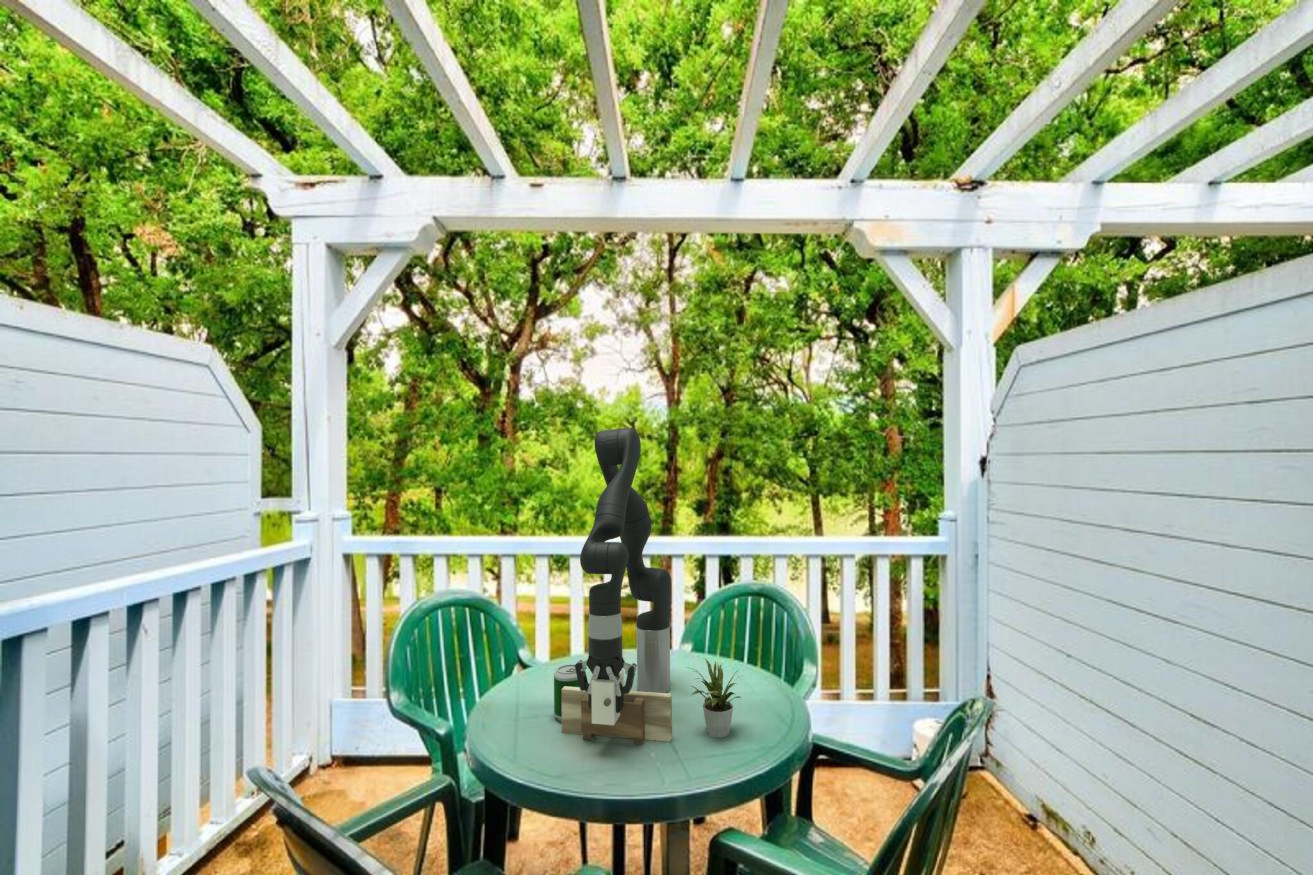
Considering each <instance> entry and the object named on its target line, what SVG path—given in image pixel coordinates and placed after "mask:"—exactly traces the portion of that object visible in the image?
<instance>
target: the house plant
mask: <svg viewBox="0 0 1313 875" xmlns="http://www.w3.org/2000/svg"><path fill="white" fill-rule="evenodd" d="M703 659H704V660H705V662H706V665H707V670H708V675H709V677H710V680H711V681H709V682H708V681H707V680H706V679H705V678H704V676H703V675H702V674H701V673H700V672H699V671H698V670H697V669H696V668H692V667H689V669H692V670H693V672H695V673H697V674H698V675H699V676H700V677H701V678H700V677H698V678H694V679H693V680H698V681H697V683H699V682H702V683H703V684H704V686H705V687H706V688H707V691H708V692H706V691H703V690H699V689H698V688H697V687H695V686H693V685H690V687H691V688H694V689H695V690H694V691H693V692H692V693H691V696H693V695H697V694H700V695H701V696H702V697H703V698H704V703H703V704H702V708H703V709H702V710H703V715H704V716H703V717H704V720H705V721H704V722H705V726H706V731H707V734H708V736H710V737H712V738H716V739H717V738H718V739H721V738H722V739H723V738H726V737H728V736H729V735H730V732H731V727H732V726H731V724H732V719H733V718H732V716H733V710H734V706H733V703H732V702H731V701H733V700H734V699H736V698H737V699H738V698H739V699H741V700H743V698H742V697H741V696H734V697H733V698H731V699H729V698H730V697H732V695H736V693H735V692H733V691H729V690H730V688H732V687H733V686H735V685H738V683H734V682H735V681H736V680H737V679H739V678H741V677H743V675H740V676H738V677H737V678H736V679H734V680H733V678H734V677H735V676H736V673H737V672H738V670H736V671H735V672H734V674H732V677H731V678H730V680H729V681H728V682H727V684H726V686H725V689H724V687H723V685H724V670H723V668H722V666H723V664H720V663H718V662H717V661H715V662H714V663H713V668H712V665H711V663H710V662H709V660H708V659H707V658H705V657H704V658H703ZM685 668H687V669H688V666H687V667H685ZM732 680H733V682H731V681H732ZM723 690H724V692H723ZM703 693H704V694H703Z"/></svg>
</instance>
